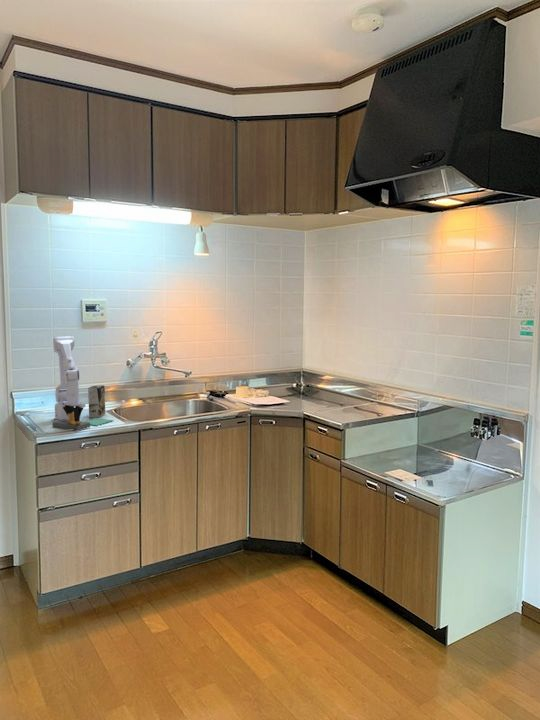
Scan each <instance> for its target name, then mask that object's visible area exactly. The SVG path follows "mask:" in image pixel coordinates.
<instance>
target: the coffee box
mask: <svg viewBox="0 0 540 720" xmlns="http://www.w3.org/2000/svg"><path fill="white" fill-rule="evenodd" d="M87 388H88V390H87V392H88V393H87V394H88V417H89V418H102V417H103V416H105V415H106V393H105V392H106V391H105V385H91V386H89V387H87Z"/></svg>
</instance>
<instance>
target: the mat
mask: <svg viewBox="0 0 540 720" xmlns="http://www.w3.org/2000/svg"><path fill="white" fill-rule="evenodd" d="M82 421H83V422H90V426H91V425H92V427H99V426H98V425H100V426H103V425H106V424H110V423H113V422H114V420H113V419H106V418H102V417H93V418H89V419H87V420H82ZM112 421H113V422H112ZM109 422H110V423H109ZM102 424H103V425H102Z"/></svg>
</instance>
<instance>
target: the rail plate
mask: <svg viewBox="0 0 540 720" xmlns="http://www.w3.org/2000/svg"><path fill="white" fill-rule="evenodd" d="M83 421H84V420H80V423H77V424H68V419H62V420H56V421H52V428H57V429H63V430H68V429H73V430H72V431H74V430H79V431H81V430H80V429H83V428H86V429H88V428H87V427H89V428H91V425H90V422H83ZM83 430H84V429H83Z"/></svg>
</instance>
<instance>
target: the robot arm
mask: <svg viewBox="0 0 540 720" xmlns="http://www.w3.org/2000/svg"><path fill="white" fill-rule="evenodd" d="M52 344H53V345H52V346H53V347H52V348H53V351H54V353H57V356H58V362H59V365H58V366H59V376H60V377H59V378H60V380H59V381H60V384H59V385H57V386H56V387H55V391H54V393H55V395H54V397H55V402H56V403H54V418H53V419H54V420H57V421H59V420H62V419H68V414H69V413H73V412H74V418H75V421H79V419H80V420H81V414H82V412H83V410H84V408H86V403H84V402H82V401H80V392H79V391H80V390H79V389H80V388H79V381H80V371H79V369H78V367H77V365H76V361H75V359H74V358H73V356H72V352H73V350H74V348H75V338H74V336H73V335H66V336H65V335H64V336H53V338H52Z"/></svg>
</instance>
